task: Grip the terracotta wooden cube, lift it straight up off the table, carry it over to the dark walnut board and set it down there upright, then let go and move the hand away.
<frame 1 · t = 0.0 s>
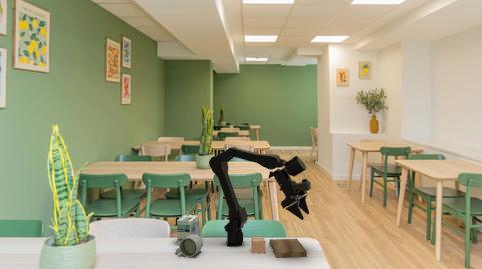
hand: (305, 216, 145), 15 cm above the table, tool tilted 35°, fingers open, 9 cm apart
terracotta cube: (258, 251, 149), on the table
walnut board: (287, 250, 150), on the table
ceramic mug: (188, 254, 146), on the table
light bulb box: (188, 242, 161), on the table
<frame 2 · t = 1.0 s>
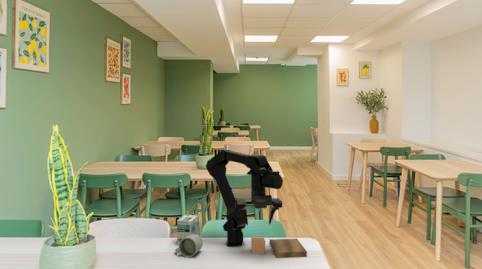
hand: (258, 224, 148), 11 cm above the table, tool pointing down, fingers open, 9 cm apart
nothing on the table moved.
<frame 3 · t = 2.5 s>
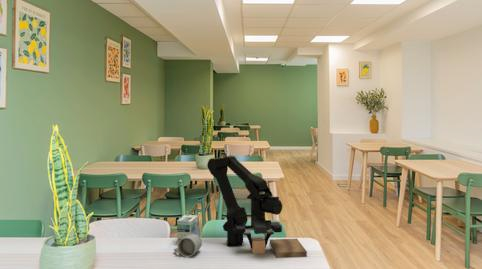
hand: (258, 248, 149), 1 cm above the table, tool pointing down, fingers closed on terracotta cube, 5 cm apart
terracotta cube: (258, 251, 149), on the table, touching gripper
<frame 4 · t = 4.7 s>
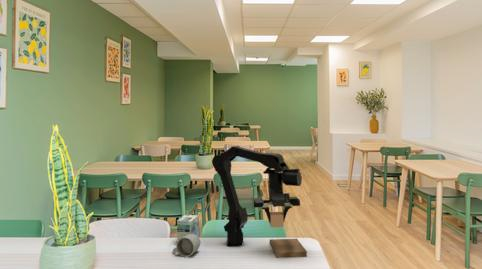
hand: (276, 222, 149), 11 cm above the table, tool pointing down, fingers closed on terracotta cube, 5 cm apart
terracotta cube: (276, 225, 149), point 10 cm above the table, touching gripper
when the fingers open (4 cm above the table, at t = 6.7 s): terracotta cube stays where it is, resting on walnut board.
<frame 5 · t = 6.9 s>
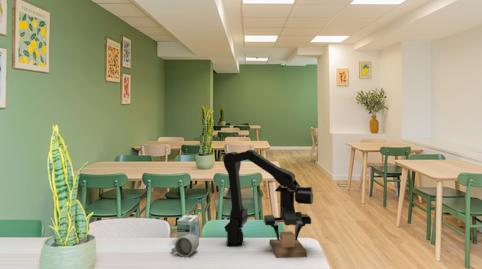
hand: (287, 240, 150), 4 cm above the table, tool pointing down, fingers open, 7 cm apart
terracotta cube: (287, 245, 150), point 2 cm above the table, touching walnut board
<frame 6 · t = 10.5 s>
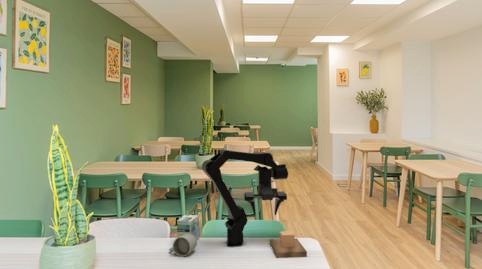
hand: (265, 215, 163), 11 cm above the table, tool pointing down, fingers open, 9 cm apart
at the end: terracotta cube inside the target area on the walnut board (0.1 cm from its centre), point 2.0 cm above the walnut board's base; terracotta cube tilted 0°; the gripper is holding nothing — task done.
